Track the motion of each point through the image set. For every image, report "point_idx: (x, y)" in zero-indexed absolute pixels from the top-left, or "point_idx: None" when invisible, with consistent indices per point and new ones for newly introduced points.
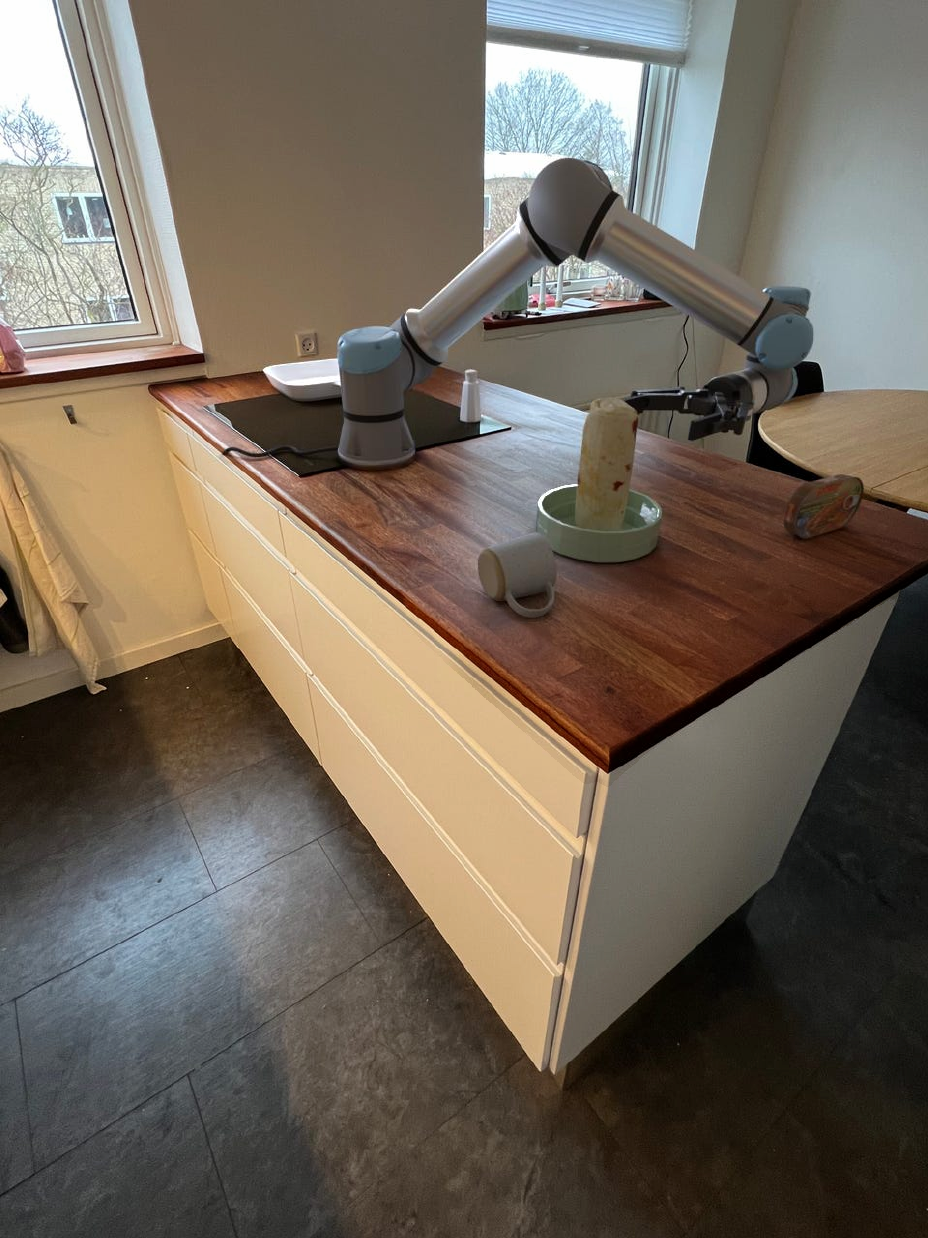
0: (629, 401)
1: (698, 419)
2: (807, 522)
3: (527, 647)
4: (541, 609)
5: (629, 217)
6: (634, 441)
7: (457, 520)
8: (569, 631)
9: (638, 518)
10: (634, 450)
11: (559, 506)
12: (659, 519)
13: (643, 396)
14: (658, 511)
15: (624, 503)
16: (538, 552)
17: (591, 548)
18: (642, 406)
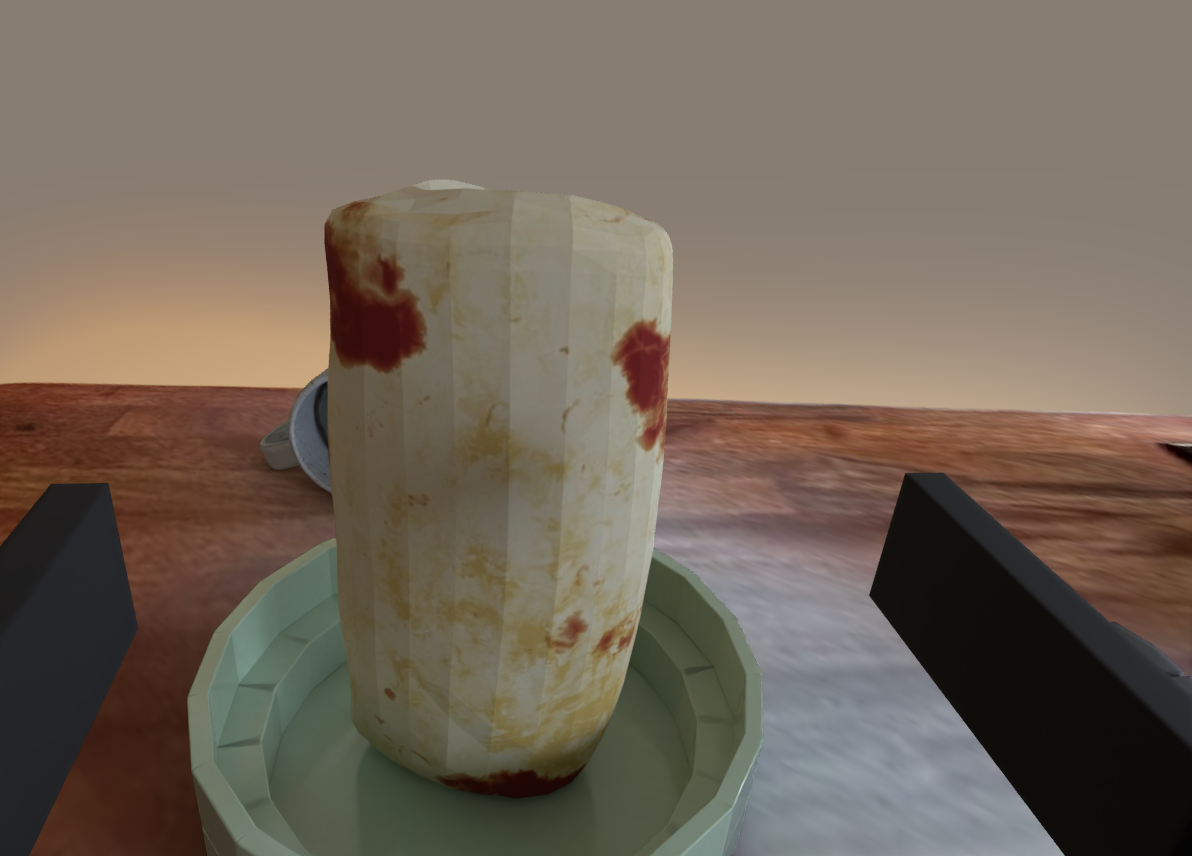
0: (989, 577)
1: (49, 534)
2: None
3: (230, 417)
4: (267, 434)
5: None
6: (330, 344)
7: (804, 541)
8: (191, 465)
9: None
10: (336, 400)
11: (685, 677)
12: (190, 747)
13: (1171, 741)
14: (244, 811)
15: (338, 596)
16: (326, 369)
17: None
18: (1134, 849)
